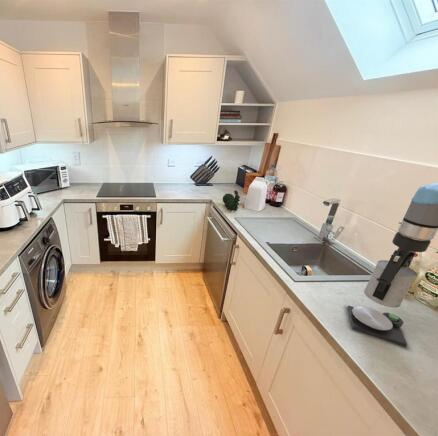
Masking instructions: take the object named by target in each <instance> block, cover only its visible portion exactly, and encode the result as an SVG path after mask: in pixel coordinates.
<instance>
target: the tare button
mask: <svg viewBox="0 0 438 436" xmlns="http://www.w3.org/2000/svg"><path fill="white" fill-rule="evenodd" d="M388 318H389V319H390V320H392V321H395V322H397V321H398V319H399V318H400V317H399V316H398V315H396V314H394V313H391V314H389V315H388Z"/></svg>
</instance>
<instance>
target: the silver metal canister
mask: <svg viewBox="0 0 438 436" xmlns="http://www.w3.org/2000/svg"><path fill="white" fill-rule="evenodd" d="M388 262H389V260H387V259H381V260H378V261H377V262H376V264H375V267H374V269H373V271H372V273H371V275H370V278H369V280H368V282H367V284H366V286H365V288H364V290H363V293H364V295H365V297H366V298H368V299H370V300H371V301H373V302H374V303H376V304H379V305H380V306H384V307H388V308H399V307H401V305H402V303H403V301H404V299H405V298H406V296H407V294H408V292H409V291H410V289H411V287H412V285H413V284H414V282H415V280H416V278H417V277H418V272H417V271H416V270H414V269H413V268H411V267H410V266H409V267H401V269H400V270H399V272H398V273H397V274H396V276H395V277H394V279H393V281H392V282H391V286H390V288H389V290H388V292H387V294H386V296H385V298H384V299H383V301H382V300H380V299H378V298H376V297H374V296H372V295H373V293H374V291H375V289H376V287H377V285H378V283H379V281H378V280H376V279H377V278H380V276H381V274H382V272H383V271H384V269H385V267H386V266H387V264H388Z"/></svg>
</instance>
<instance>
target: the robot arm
mask: <svg viewBox="0 0 438 436" xmlns="http://www.w3.org/2000/svg"><path fill="white" fill-rule="evenodd" d="M398 224H399V226H398V229H397V231H396V232H395V234H394V236H393V239H392V241H391V242H392V244H393V245H394V246H396V247H397V249H395V250H394V251H393V253H392V254H391V255H390V258H389V260H388V261H389V262H388V264H387V266H386V267H385V269H384V271H383V272H382V274H381V276H380V278H377V279H376V280H378V281H379V283H378V285H377V287H376V289H375V291H374V293H373V295H372V296H374V297H376V298H378V299H380V300H382V301H383V299H384V298H385V296H386V294H387V292H388V290H389V288H390V286H391V282H392V281H393V279H394V277H395V276H396V274H397V273H398V272H399V270H400V269H401V267H409V268H410V266H411V264H412V262H413V260H414V258H415V256H416V253H424V252H426V251H427V250H428V248H429V246H430V244H431V242H432V240H434V238H435V236H436V234H437V232H438V182H433V183H430V184H425V185H421V186H420V187H418V189H417V190H416V192H415V193H414V195H413V197H412V198H411V202H410V203H409V206H408V207H407V210H406V212H405V213H404V216H403V219H402V220H399V221H398Z"/></svg>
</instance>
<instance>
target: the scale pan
mask: <svg viewBox="0 0 438 436" xmlns="http://www.w3.org/2000/svg"><path fill="white" fill-rule="evenodd" d="M353 307H354V308H353V310H352V312H353V314H354V316H355V317H356V318H357V319H358V320H359V321H361V322H362V323H364V324H366V325H367V326H369V327H372V328H374V329H378V330H383V331H387V330H391V329H392V327H393V325H392V323H391V321H390V320H389V319H388V318H387V317H386V316H384V315H383V313H381V312H380V311H378V310H376V309H373V308H371V307H367V306H363V305H359V306H358V305H357V306H353Z"/></svg>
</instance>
